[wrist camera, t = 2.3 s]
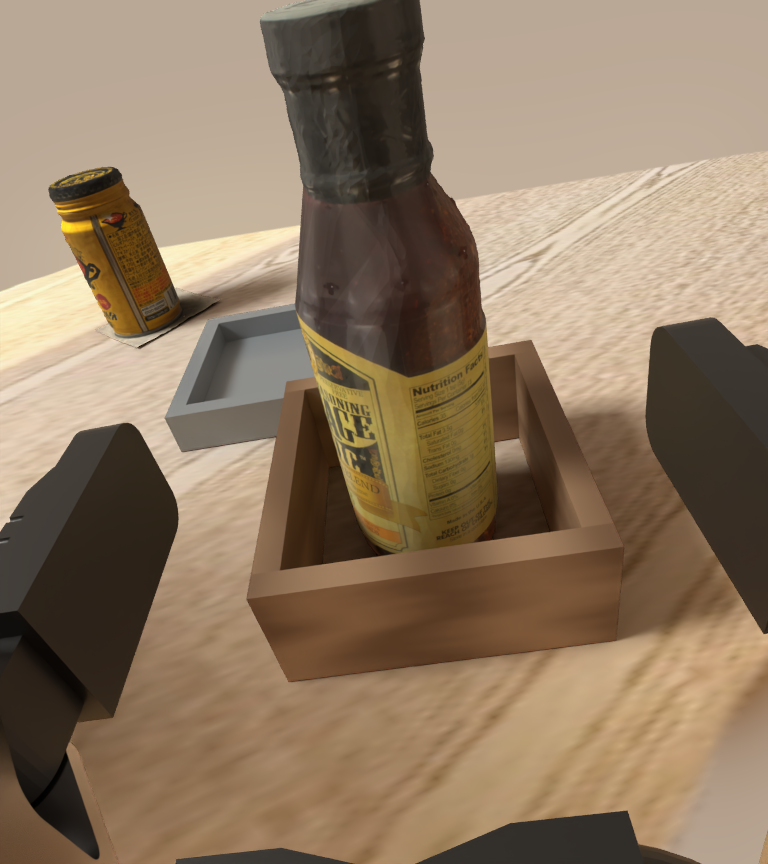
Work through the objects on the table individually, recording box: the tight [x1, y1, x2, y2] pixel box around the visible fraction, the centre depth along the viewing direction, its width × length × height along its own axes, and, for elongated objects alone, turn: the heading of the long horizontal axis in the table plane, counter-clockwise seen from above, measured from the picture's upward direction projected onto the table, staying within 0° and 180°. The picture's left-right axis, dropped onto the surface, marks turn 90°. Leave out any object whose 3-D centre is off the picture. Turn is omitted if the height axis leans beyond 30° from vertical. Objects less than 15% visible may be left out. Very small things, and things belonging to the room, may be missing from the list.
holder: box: [247, 340, 624, 682], centre depth 26 cm, size 12×13×5 cm
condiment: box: [49, 167, 221, 348], centre depth 49 cm, size 7×8×12 cm
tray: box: [165, 304, 315, 452], centre depth 39 cm, size 12×12×2 cm
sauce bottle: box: [260, 0, 498, 556], centre depth 21 cm, size 6×6×20 cm
